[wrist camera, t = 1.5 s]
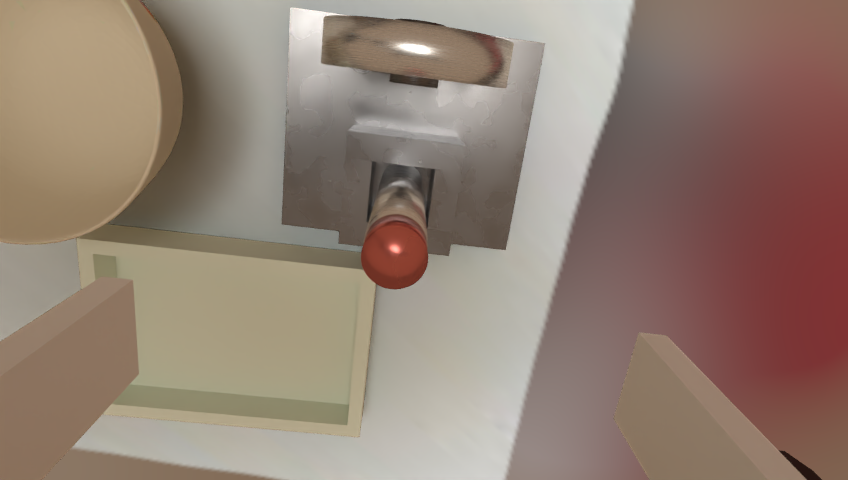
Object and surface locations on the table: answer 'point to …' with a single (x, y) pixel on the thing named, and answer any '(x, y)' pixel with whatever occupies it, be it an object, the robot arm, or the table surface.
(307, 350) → the tray
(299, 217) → the block
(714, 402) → the robot arm
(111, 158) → the bowl
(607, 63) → the table surface
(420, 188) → the pin
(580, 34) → the table surface
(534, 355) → the table surface
